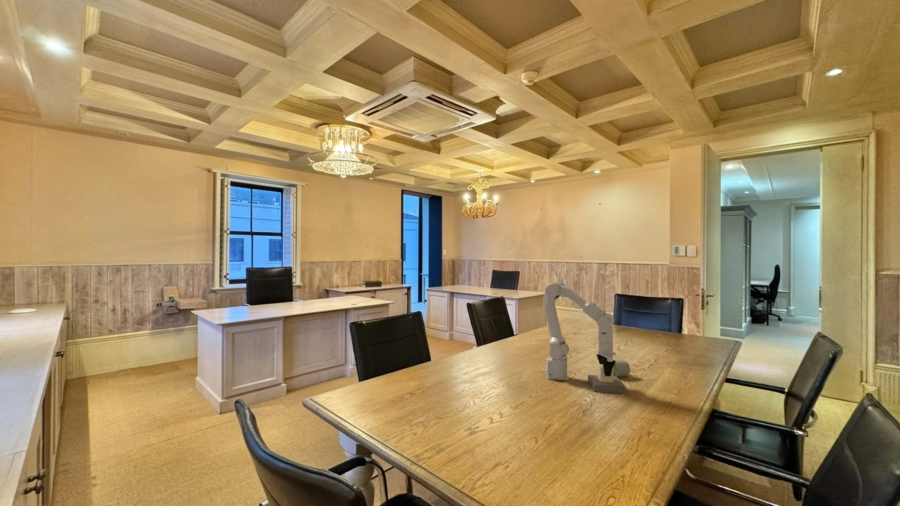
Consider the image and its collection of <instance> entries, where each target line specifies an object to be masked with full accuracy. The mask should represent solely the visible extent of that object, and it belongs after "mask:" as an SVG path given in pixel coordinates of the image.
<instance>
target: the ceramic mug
mask: <svg viewBox="0 0 900 506" xmlns="http://www.w3.org/2000/svg"><path fill="white" fill-rule="evenodd" d="M614 360H615V361H616V363H615V364H614V366H613V376H616V377H617V378H621V377H626V376H628V375H630V373H631V366H630V364H629V363H628V361H625V360H621V359H619V360H618V359H614Z"/></svg>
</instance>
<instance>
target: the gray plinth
mask: <svg viewBox="0 0 900 506" xmlns="http://www.w3.org/2000/svg"><path fill="white" fill-rule="evenodd" d="M588 382H589V383H588ZM587 383H588V384H589V386H590V385H591V386H590V387H591V389H592V390H593V392H596V393H612V394H613V393H614V394H625V393H626V386H625V384H624V383H623V382H622V381H621V379H619V377H616V376H613V382H601V381H600V380H599V378H598V374H595V375H594V374H587Z"/></svg>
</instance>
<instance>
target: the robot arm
mask: <svg viewBox="0 0 900 506" xmlns="http://www.w3.org/2000/svg"><path fill="white" fill-rule="evenodd" d="M560 297H563V298H568V299H569V300H571V301H572V302H574V303H575V304H576V305H578V306H579V307H580V308H582V311H583V313H584V314H585V315H587V316H588V317H589V318H591V319H592V320H593V321H594V322H596V325H597V326H598V351H597V353H596V354H595V355H596V358H597V361H598V363H599V364H603V368H604V374H605V376H611V373H612V369H613V366H614V364H615V363H616V361H615V360H616V359H614V356H616V355H617V353H616V352H615V351H614V331H613V330H614V329H613V327H614V326H613V325H614V323H615V318H614V316H613V315H612V314H611V313H610V312H607V311H606V310H605V309H604V310H603V309H601V307H599V306H598V304H597V303H596V302H592V301H587V300H586V299H584V298H583V297H582V296H581V295H579V294H578V293H577V292H576V291H575V290H573V289H572V288H571V287H570V286H569V285H568V284H566V283H564V282H563V281H556V282H549V283H548V284H547V285H546V286H545V288H544V294H543V297H542V304H543V310H544V313H545V314H544V315H545V317H546V323H547V329H548V333H549V337H550V338H549V342H548V345H549V348H548V354H549V356H550V357H546V359H545V376H546V378H547V379H548V380H560V381H569V380H570V378H569V376H568V356H567V354H569V352H570V347H569V345H568V343H567V342H566V339H565V338H564V336H563V335H562V329H561V325H560V322H559V321H560V320H559V316H558V312H557V308H556V301H557V300H558V299H559V298H560Z"/></svg>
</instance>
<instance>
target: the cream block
mask: <svg viewBox="0 0 900 506" xmlns="http://www.w3.org/2000/svg"><path fill="white" fill-rule="evenodd" d="M597 371H598V372H597V375H598V378H599V380H600V381H601V382H613V369H612V373H611V376H605V374H604V368H603V364H597Z"/></svg>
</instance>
